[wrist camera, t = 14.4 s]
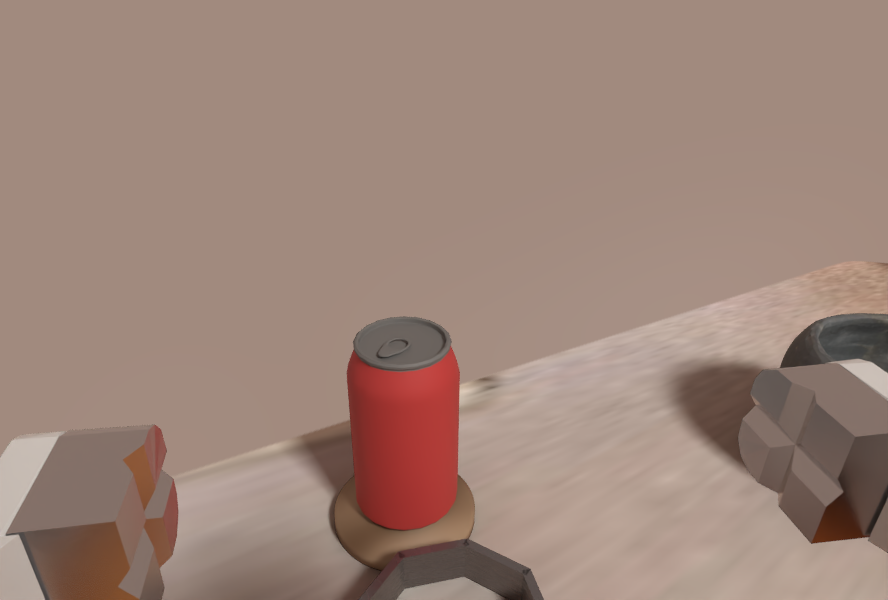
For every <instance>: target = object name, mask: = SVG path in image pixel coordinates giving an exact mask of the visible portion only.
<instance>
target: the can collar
mask: <svg viewBox="0 0 888 600" xmlns="http://www.w3.org/2000/svg"><path fill="white" fill-rule="evenodd" d="M464 576H465V577H467V578H469V579H471V580H473V581H475V582H477V583H479V584H480V585H482V586H484V587H486V588H488V589H490V590H492V591H494V592H496V593H498V594H500V595H502V596H504V597H506V598H508V599H510V600H544V599H543V597H542V594H541V592H540V590H539V587H538V585H537V583H536V581H535V578H534V576H533V574H532V571H531V569H529V568H527V567H525V566H523V565H521V564H519V563H517V562H515V561H513V560H511V559H509V558H507V557H504V556H502V555H500V554H498V553H496V552H494V551H492V550H490V549H488V548H486V547H484V546H481V545H479V544H477V543H475V542H473V541H471V540H469V539H467V538H466V539H461V540H456V541H451V542H445V543H440V544H435V545H429V546H424V547H419V548H414V549H408V550H403V551H398V552H397V554H396V555H395V556H394V557H393V558H392V560H391V561H390V562H389V563H388V564H387V566H386V567H385V568H384V569H383V570H382V572H381V573H380V574H379V575H378V577H377V578H376V579H375V580H374V581H373V583H372V584H371V585H370V586H369V587H368V589H367V590H366V591H365V592H364V593H363V595H362V596H361V597H360V598H359V599H358V600H396V599H397V598H398V596H399V595H400V594H401V592H402V591H403V590H404V589H405V588H410V587H415V586H419V585H424V584H429V583H434V582H439V581H444V580H449V579H454V578H459V577H464Z"/></svg>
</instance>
